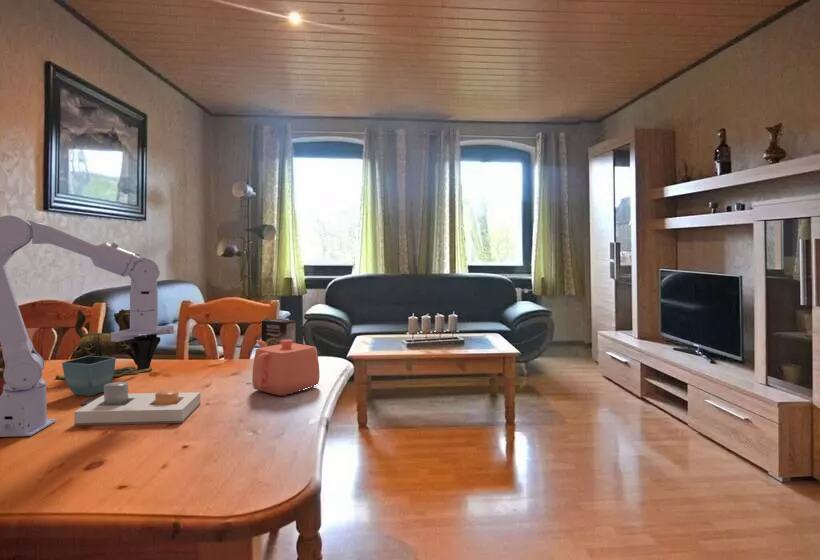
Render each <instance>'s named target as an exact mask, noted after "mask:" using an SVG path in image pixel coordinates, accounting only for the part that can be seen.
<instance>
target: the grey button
mask: <svg viewBox="0 0 820 560" xmlns="http://www.w3.org/2000/svg"><path fill="white" fill-rule="evenodd" d="M128 394H129V382H125V381H116V382H111V383H108V384H105V385H104V392H103V395H104V404H106V405H117V404H123V403H126V402H128Z"/></svg>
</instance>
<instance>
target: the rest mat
mask: <svg viewBox="0 0 820 560" xmlns="http://www.w3.org/2000/svg"><path fill="white" fill-rule="evenodd" d="M99 397H100V396H91V397H90V398H89V399H87V400H85V401H83V402H82V403H80V406H82V407H83V406H85V405H87V404H89V403H90V402H92V401H94V400H96V399H97V398H99Z"/></svg>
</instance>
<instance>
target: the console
mask: <svg viewBox="0 0 820 560" xmlns="http://www.w3.org/2000/svg"><path fill="white" fill-rule="evenodd" d="M156 393H157V392H151V393H150V392H146V393H145V392H144V393H143V392H140V393H138V392H136V393H128V402H126V403H123V404H117V405H106V404H104V394H103V395H101V396H98V397H99V398H97V399H96V400H94V401H92V402H90V403H89V404H87V405H84V406H82V407H80V408H78V409H76V410H75V411H74V414H73V415H74V426H75V427H76V426H106V425H107V426H108V425H110V426H111V425H112V426H113V425H120V426H121V425H152V424H153V425H154V424H155V425H158V424H183V423H184V422H185V421H186V420H187V419H188V418H189V417H190V416H191V415H192V414H193V413H194V412H195V411H196V410H197V408H198V407H199V406H200V405H201V392H200V391H199V392H192V391H191V392H178V403H177V404H172V405H155V394H156ZM194 410H195V411H194ZM193 411H194V412H193Z"/></svg>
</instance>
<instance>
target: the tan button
mask: <svg viewBox="0 0 820 560" xmlns="http://www.w3.org/2000/svg"><path fill="white" fill-rule="evenodd" d="M155 393H156V394H155V405H172V404H177V403H178V393H179V391H178V390H162V391H159V392H155Z"/></svg>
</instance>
